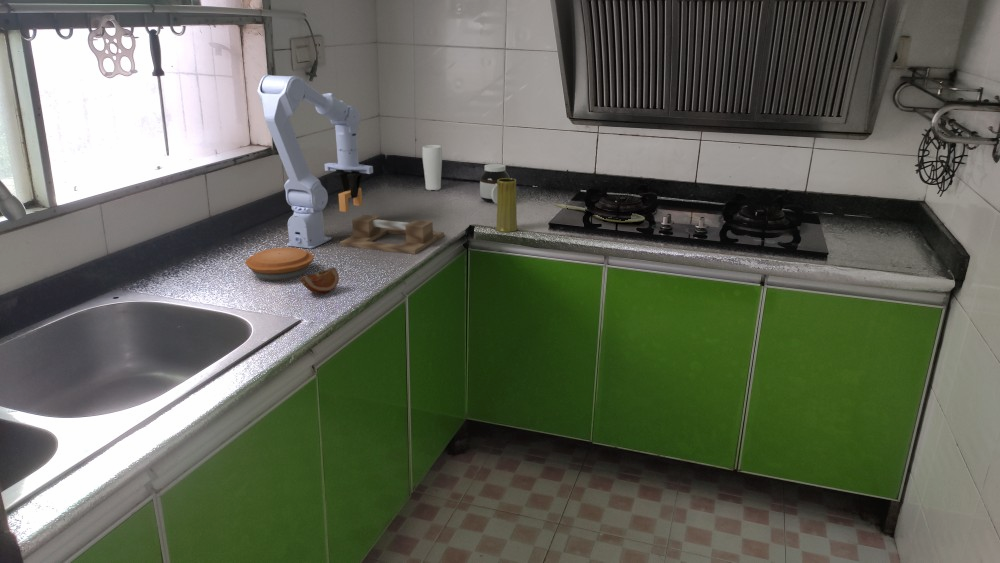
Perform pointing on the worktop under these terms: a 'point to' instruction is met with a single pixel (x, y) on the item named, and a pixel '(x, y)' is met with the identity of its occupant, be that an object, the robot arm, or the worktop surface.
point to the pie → (280, 263)
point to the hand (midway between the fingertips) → (350, 197)
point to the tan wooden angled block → (344, 200)
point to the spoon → (633, 218)
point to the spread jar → (491, 181)
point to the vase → (506, 205)
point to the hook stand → (373, 228)
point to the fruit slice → (321, 281)
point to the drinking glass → (432, 166)
